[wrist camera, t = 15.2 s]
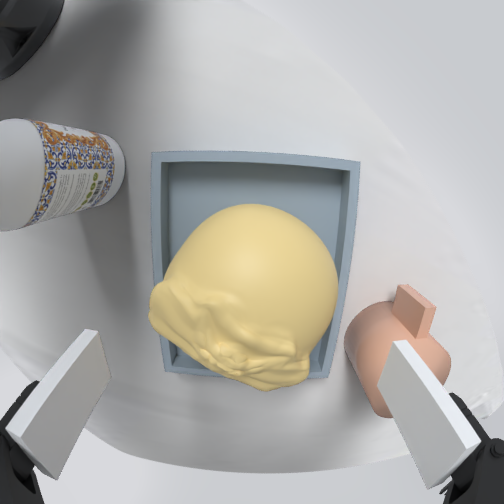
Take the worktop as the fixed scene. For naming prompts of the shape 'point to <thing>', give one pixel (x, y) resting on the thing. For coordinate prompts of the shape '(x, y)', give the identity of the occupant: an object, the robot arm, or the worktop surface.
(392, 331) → the peach tabbed round part
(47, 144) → the bath foam
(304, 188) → the tray
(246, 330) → the sculpture
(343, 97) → the worktop surface
